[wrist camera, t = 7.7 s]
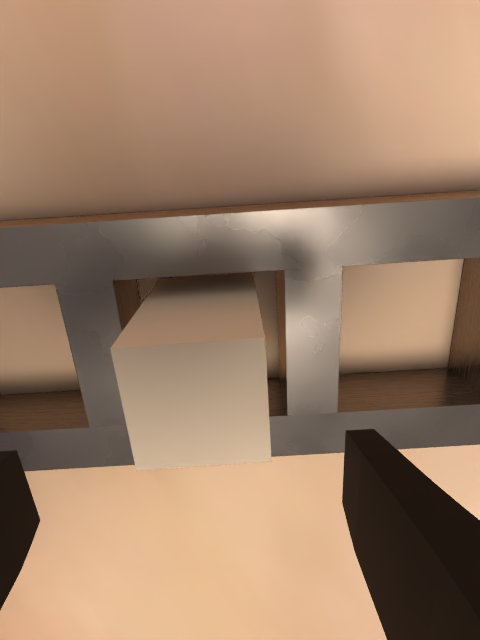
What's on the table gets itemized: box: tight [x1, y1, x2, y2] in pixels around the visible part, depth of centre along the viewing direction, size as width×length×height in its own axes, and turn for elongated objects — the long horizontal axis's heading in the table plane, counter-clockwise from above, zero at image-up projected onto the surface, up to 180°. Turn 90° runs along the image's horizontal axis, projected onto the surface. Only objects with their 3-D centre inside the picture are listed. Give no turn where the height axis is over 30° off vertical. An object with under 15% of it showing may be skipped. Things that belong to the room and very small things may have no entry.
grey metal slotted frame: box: [0, 190, 480, 471], centre depth 16 cm, size 26×10×3 cm, turn 93°
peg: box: [110, 272, 272, 471], centre depth 14 cm, size 4×4×7 cm
